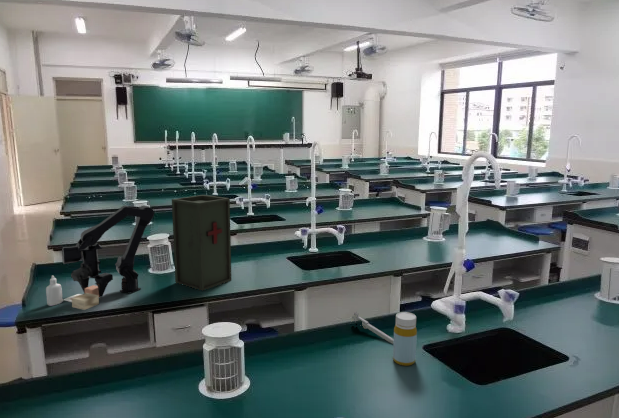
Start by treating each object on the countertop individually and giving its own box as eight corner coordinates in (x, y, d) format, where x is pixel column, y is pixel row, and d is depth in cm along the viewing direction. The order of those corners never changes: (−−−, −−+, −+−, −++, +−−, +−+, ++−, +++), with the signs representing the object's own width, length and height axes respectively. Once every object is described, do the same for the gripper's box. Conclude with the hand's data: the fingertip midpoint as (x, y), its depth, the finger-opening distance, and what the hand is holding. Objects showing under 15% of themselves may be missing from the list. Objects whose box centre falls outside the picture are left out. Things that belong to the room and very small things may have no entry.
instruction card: (78, 294, 200) (78, 293, 200) (88, 296, 198) (88, 295, 198) (62, 300, 193) (62, 299, 193) (72, 302, 191) (72, 301, 191)
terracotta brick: (94, 295, 200) (93, 285, 199) (101, 296, 198) (100, 286, 197) (85, 298, 196) (84, 288, 195) (92, 300, 194) (92, 289, 193)
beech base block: (87, 301, 192) (86, 292, 191) (99, 304, 189) (98, 295, 189) (72, 307, 186) (71, 298, 185) (84, 310, 183) (83, 301, 182)
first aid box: (205, 273, 230) (202, 194, 224) (231, 280, 220) (229, 198, 213) (175, 283, 216) (171, 199, 209) (202, 291, 205) (199, 203, 198)
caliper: (351, 327, 169) (351, 311, 168) (352, 326, 170) (353, 310, 169) (396, 346, 154) (397, 328, 153) (398, 345, 155) (399, 327, 154)
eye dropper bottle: (47, 303, 190) (44, 275, 188) (62, 300, 192) (60, 273, 190) (47, 306, 186) (44, 278, 184) (63, 304, 189) (60, 276, 187)
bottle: (401, 368, 139) (403, 322, 137) (388, 358, 146) (390, 313, 143) (419, 363, 142) (422, 318, 140) (406, 354, 148) (408, 310, 146)
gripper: (58, 262, 190) (61, 297, 193) (90, 267, 183) (93, 304, 185) (81, 255, 200) (84, 289, 203) (112, 260, 193) (114, 296, 195)
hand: (93, 295), depth 197 cm, fingers open, 9 cm apart
